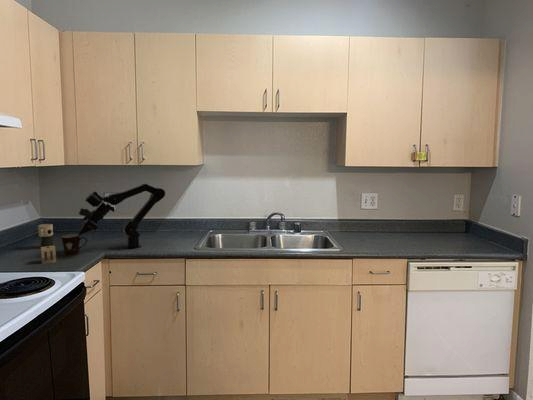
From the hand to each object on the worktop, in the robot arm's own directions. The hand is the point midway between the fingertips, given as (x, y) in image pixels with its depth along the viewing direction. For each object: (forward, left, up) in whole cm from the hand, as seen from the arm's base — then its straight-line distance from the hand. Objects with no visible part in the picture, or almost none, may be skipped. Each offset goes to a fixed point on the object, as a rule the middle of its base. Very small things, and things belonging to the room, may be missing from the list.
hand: (78, 234), depth 202 cm
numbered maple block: (-2, +16, -11) cm, 19 cm away
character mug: (+30, +4, -11) cm, 32 cm away
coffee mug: (+1, +2, -11) cm, 11 cm away
